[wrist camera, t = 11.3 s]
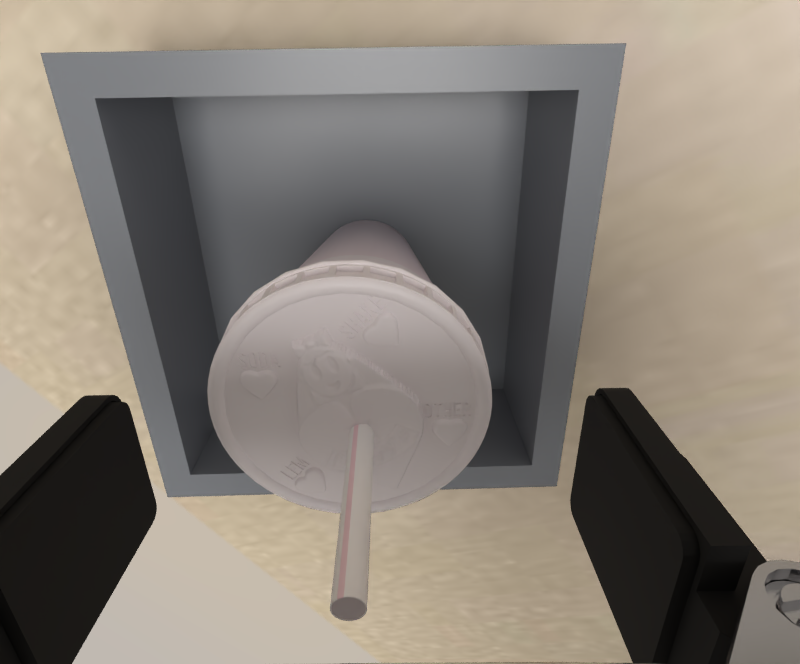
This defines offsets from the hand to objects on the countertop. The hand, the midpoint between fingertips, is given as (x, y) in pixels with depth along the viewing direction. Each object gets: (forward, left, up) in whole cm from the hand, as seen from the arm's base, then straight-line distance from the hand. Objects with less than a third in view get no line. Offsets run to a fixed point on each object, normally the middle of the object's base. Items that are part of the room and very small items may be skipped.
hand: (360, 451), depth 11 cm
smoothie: (0, 0, -11) cm, 11 cm away
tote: (+1, 0, -12) cm, 12 cm away
